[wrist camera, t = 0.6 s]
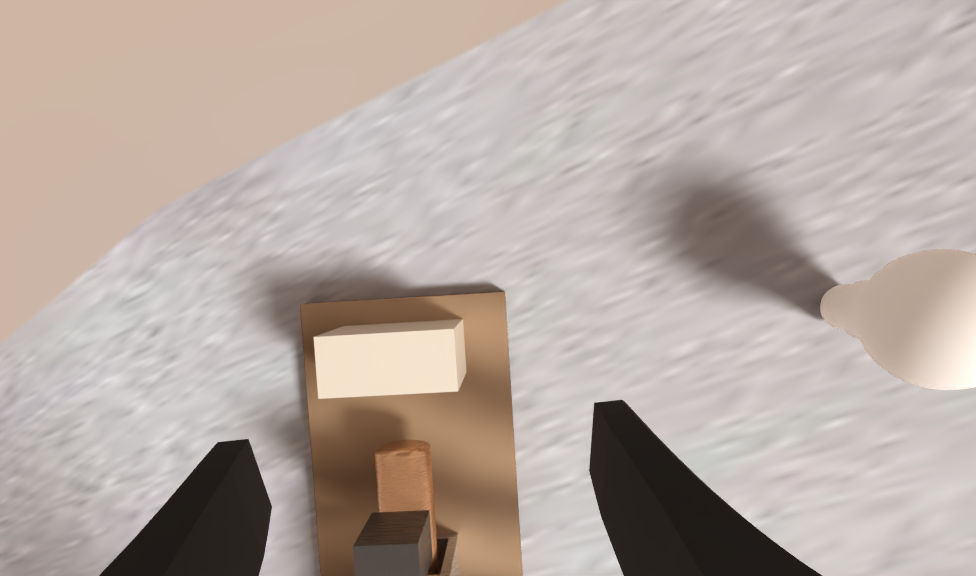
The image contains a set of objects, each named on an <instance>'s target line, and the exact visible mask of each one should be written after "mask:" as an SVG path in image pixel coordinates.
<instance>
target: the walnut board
mask: <svg viewBox="0 0 976 576" xmlns="http://www.w3.org/2000/svg"><path fill="white" fill-rule="evenodd" d="M300 310H301V323H302V336H303V349H304V362H305V375H306V388H307V401H308V414H309V427H310V440H311V453H312V466H313V479H314V492H315V506H316V519H317V532H318V545H319V558H320V571H321V576H355V570H354V557H353V545H354V543H355V542H356V540H357V538H358V536H359V535H360V533H361V531H362V529H363V528H364V526H365V524H366V522H367V520H368V519H369V517H370V515H371V513H373V512H379V509H378V495H377V481H376V467H375V453H374V452H375V449H376V448H378V447H379V446H381V445H384V444H387V443H390V442H394V441H400V440H422V441H426V442H428V443H429V444H430V448H431V463H432V477H433V492H434V507H435V521H436V534H448V533H458V535H459V550H460V565H461V576H523V574H522V558H521V542H520V526H519V510H518V494H517V478H516V462H515V445H514V429H513V413H512V397H511V381H510V365H509V349H508V333H507V317H506V301H505V291H502V292H486V293H470V294H453V295H437V296H421V297H404V298H388V299H372V300H355V301H339V302H322V303H306V304H301V305H300ZM453 319H463V326H464V341H465V357H466V374H465V377H464V379H463V381H462V384H461V386H460V388H459V391H458V392H439V393H420V394H401V395H383V396H364V397H345V398H326V399H318V389H317V376H316V362H315V349H314V337H315V336H318V335H320V334H323V333H326V332H329V331H331V330H334V329H337V328H340V327H342V326H352V325H369V324H386V323H402V322H419V321H436V320H453Z"/></svg>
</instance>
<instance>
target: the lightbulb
mask: <svg viewBox="0 0 976 576" xmlns="http://www.w3.org/2000/svg"><path fill="white" fill-rule="evenodd" d="M820 311H821V315H822V317H823V319H824V320H825V321H826V322H827V323H828V324H829V325H831V326H833V327H835V328H837V329H840V330H844V331H845V332H847V333H848V334H849V335H851V336H853V337H855V338H858V339H860V341H861V342H862V344H863V346H864V348H865V350H866V351H867V353H868V354H869V355H870V356H871V358H872V359H873V360H874V361H875V362H876V363H877V364H878V365H880V366H881V367H882V368H883V369H884V370H886V371H887V372H889V373H890V374H892V375H893V376H895V377H897V378H899V379H901V380H903V381H905V382H908V383H911V384H914V385H918V386H921V387H924V388H930V389H939V390H956V389H966V388H972V387H976V254H973V253H969V252H965V251H960V250H951V249H935V250H924V251H919V252H916V253H912V254H909V255H906V256H903V257H900V258H898V259H896V260H894V261H892V262H890V263H888V264H887V265H886V266H884V267H883V268H882V269H880V270H879V271H878V272H877V273H876V274H875V275H873V276H872V277H871V278H870V280H863V281H859V282H855V283H853V284H845V285H838V286H834V287H832V288H831V289H829V290H828V291H827V292H826V293H825V294H824V296H823V297H822V300H821V303H820Z"/></svg>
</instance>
